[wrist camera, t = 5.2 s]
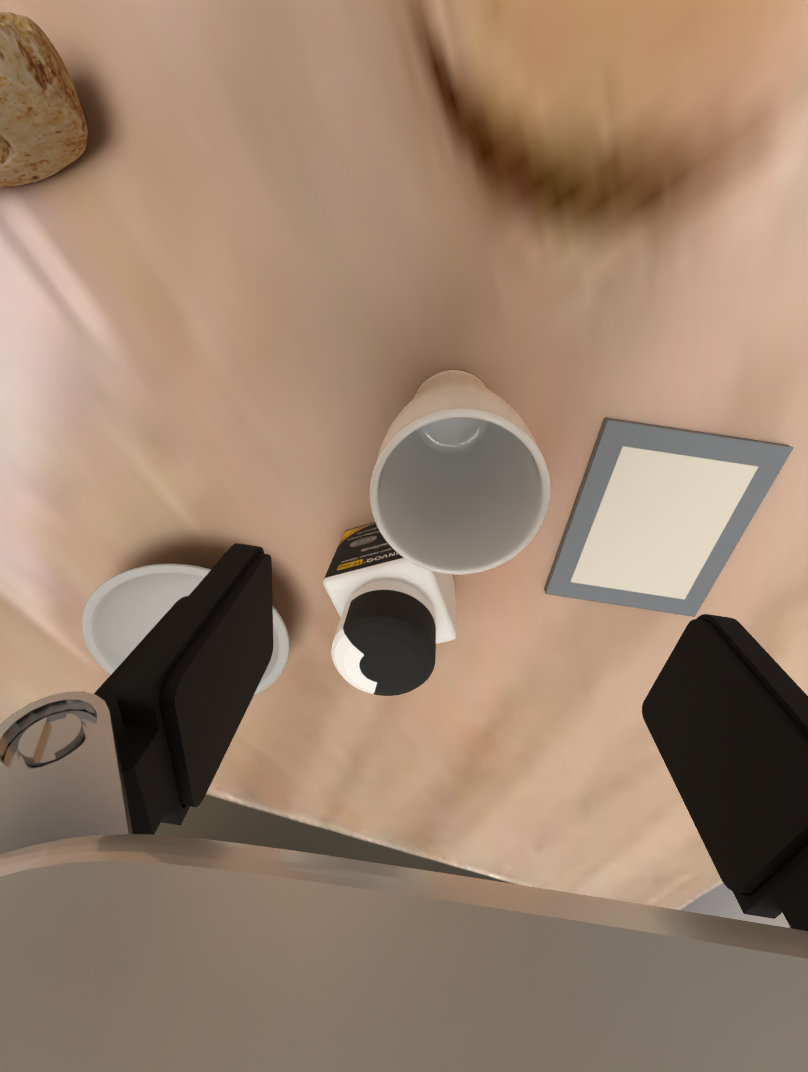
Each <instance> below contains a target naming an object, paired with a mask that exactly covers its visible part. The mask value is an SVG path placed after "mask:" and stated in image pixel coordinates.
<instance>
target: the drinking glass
mask: <svg viewBox="0 0 808 1072" xmlns="http://www.w3.org/2000/svg"><path fill="white" fill-rule="evenodd" d="M549 500H550V478H549V473H548V469H547V465H546V462H545V460H544V458H543V455H542V453H541V451H540V449H539V447H538V445H537V443H536V441H535V439H534V437H533V435H532V433H531V432H530V430H529V428H528V427H527V425H526V424H525V423H524V421H523V420H522V418H521V417H520V416H519V415H518V413H517V412H516V411H515V410H514V409H513V408H512V407H511V406H510V405H509V404H508V403H507V402H505V401H504V400H503V399H502V398H501V397H499V396H498V395H496V394H495V393H494V392H492V391H491V390H489V389H488V388H487V387H486V386H485V385H484V383H483V382H482V381H481V380H480V379H478V378H477V377H476V376H474V375H472V374H470V373H468V372H465V371H461V370H446V371H442V372H439V373H437V374H435V375H433V376H431V377H430V378H428V379H427V380H426V381H425V382H424V383H423V384H422V385H421V386H420V388H419V389H418V391H417V392H416V394H415V396H414V397H413V398H412V399H411V400H410V402H409V403H408V404H407V405H406V406H405V407H404V408H403V409H402V410H401V412H400V413H399V414H398V415H397V417H396V418H395V420H394V421H393V423H392V424H391V426H390V428H389V429H388V431H387V433H386V435H385V437H384V439H383V442H382V444H381V447H380V450H379V452H378V455H377V458H376V462H375V466H374V469H373V473H372V477H371V483H370V504H371V510H372V514H373V517H374V520H375V522H376V525H377V527H378V529H379V531H380V533H381V534H382V536H383V537H384V539H385V540H386V541H387V543H388V544H389V545H390V546H391V547H392V548H393V549H394V550H395V551H396V552H397V553H398V554H400V555H401V556H402V557H403V558H405V559H406V560H408V561H410V562H411V563H413V564H415V565H417V566H419V567H421V568H424V569H427V570H430V571H434V572H438V573H443V574H455V575H461V574H472V573H478V572H482V571H486V570H489V569H492V568H494V567H497V566H499V565H501V564H503V563H505V562H507V561H508V560H510V559H512V558H513V557H514V556H516V555H517V554H518V553H520V552H521V551H522V550H523V549H524V548H525V547H526V546H527V545H528V544H529V543H530V542H531V541H532V539H533V538H534V537H535V535H536V534H537V532H538V531H539V529H540V527H541V525H542V523H543V521H544V519H545V516H546V513H547V510H548V506H549Z"/></svg>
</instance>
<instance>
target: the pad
mask: <svg viewBox="0 0 808 1072" xmlns="http://www.w3.org/2000/svg"><path fill="white" fill-rule="evenodd" d="M792 449H793V447H790V446H788V445H783V444H777V443H770V442H763V441H757V440H750V439H743V438H737V437H730V436H723V435H717V434H710V433H703V432H696V431H690V430H683V429H676V428H670V427H663V426H656V425H650V424H643V423H636V422H630V421H623V420H616V419H609V418H605V419H604V422H603V425H602V428H601V430H600V433H599V436H598V439H597V442H596V445H595V447H594V450H593V453H592V456H591V459H590V462H589V464H588V467H587V470H586V473H585V476H584V479H583V481H582V484H581V487H580V490H579V493H578V496H577V498H576V501H575V504H574V507H573V510H572V513H571V515H570V518H569V521H568V524H567V527H566V530H565V532H564V535H563V538H562V541H561V544H560V547H559V549H558V552H557V555H556V558H555V561H554V563H553V566H552V569H551V572H550V575H549V578H548V580H547V583H546V586H545V589H544V590H545V593H546V594H549V595H556V596H562V597H569V598H575V599H582V600H589V601H595V602H602V603H608V604H615V605H621V606H628V607H634V608H641V609H647V610H654V611H660V612H667V613H673V614H680V615H686V616H693V617H695V615H696V614H697V612H698V610H699V608H700V607H701V605H702V603H703V602H704V600H705V598H706V596H707V595H708V593H709V591H710V590H711V588H712V586H713V585H714V583H715V581H716V579H717V578H718V576H719V574H720V573H721V571H722V569H723V567H724V566H725V564H726V562H727V561H728V559H729V557H730V555H731V554H732V552H733V550H734V549H735V547H736V545H737V543H738V542H739V540H740V538H741V537H742V535H743V533H744V531H745V530H746V528H747V526H748V525H749V523H750V521H751V519H752V518H753V516H754V514H755V513H756V511H757V509H758V508H759V506H760V504H761V502H762V501H763V499H764V497H765V496H766V494H767V492H768V490H769V489H770V487H771V485H772V484H773V482H774V480H775V478H776V477H777V475H778V473H779V472H780V470H781V468H782V466H783V465H784V463H785V461H786V460H787V458H788V456H789V454H790V453H791V451H792Z"/></svg>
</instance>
